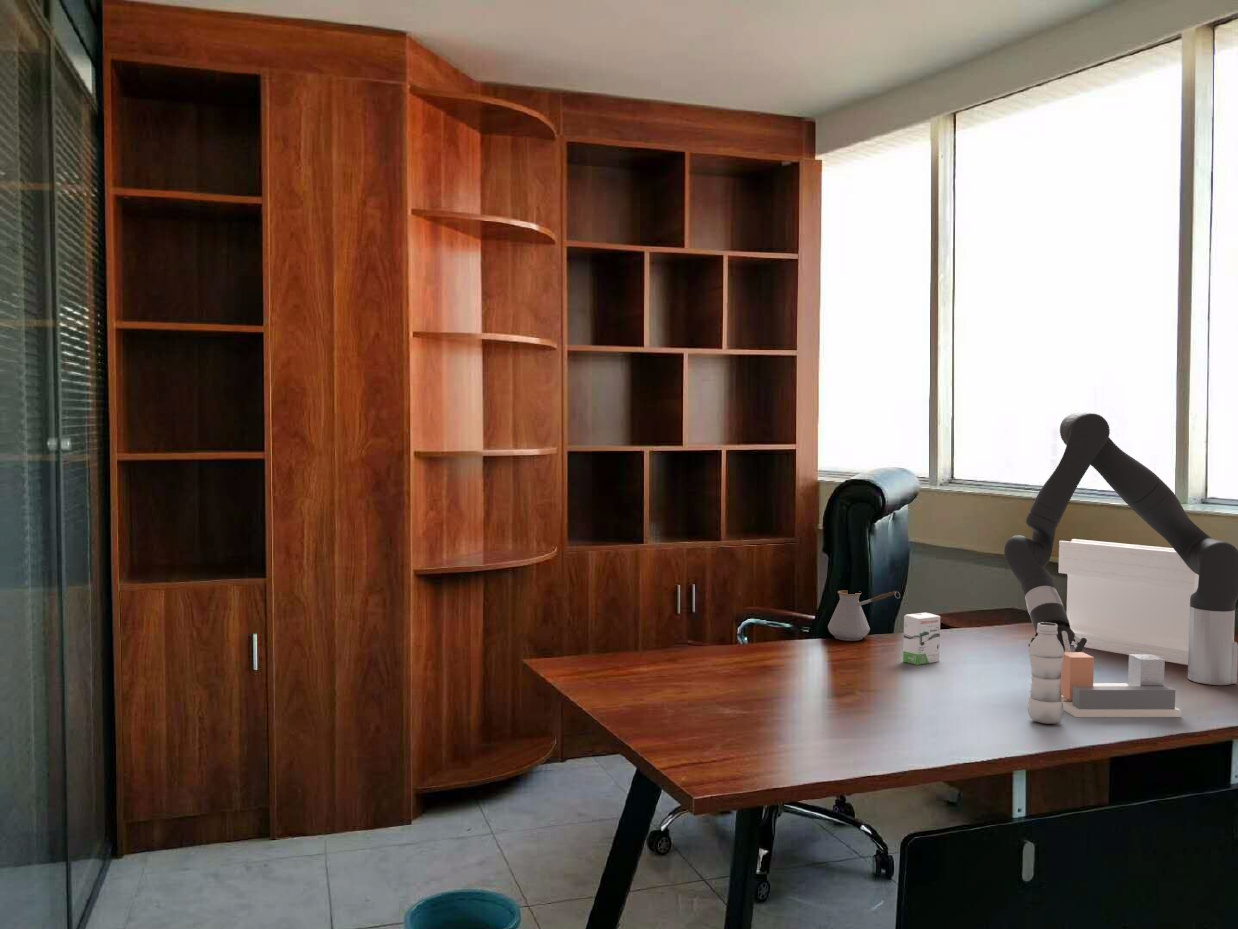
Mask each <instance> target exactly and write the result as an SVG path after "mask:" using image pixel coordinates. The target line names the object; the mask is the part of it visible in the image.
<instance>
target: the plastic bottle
mask: <svg viewBox="0 0 1238 929" xmlns="http://www.w3.org/2000/svg"><path fill="white" fill-rule="evenodd" d="M1037 633H1038V636H1037V637H1036V638H1035V637H1034V638H1035V639H1034V640H1033V642H1032V643H1031V644H1030V647H1029V646H1028V653H1029V661H1030V662H1029V663H1030V669H1031V670H1030V672H1031V683H1032V684H1031V683H1030V689H1031V690H1030V696H1029V699H1028V700H1029V701H1028V704H1027V705H1028V706H1027V712H1028V716H1029V718H1030V719H1031V720H1032V721H1033V722H1036V723H1040V724H1046V725H1052V724H1053V725H1054V724H1059V723H1061V721H1062V720H1063V718H1064V717H1063V716H1064V712H1065V711H1064V710H1063V703H1062V701H1061V700H1062V698H1061V679H1060V678H1061V670H1062V664H1063V658H1064V649H1063V646H1062V645H1061V643H1060V641H1059V640H1058V639H1057V637H1056V634H1058V631H1057V624H1054V623H1047V622H1040V623H1038V625H1037Z"/></svg>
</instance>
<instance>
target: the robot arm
mask: <svg viewBox="0 0 1238 929" xmlns="http://www.w3.org/2000/svg"><path fill="white" fill-rule="evenodd" d="M1110 430H1111V429H1110V424H1109V423H1108V421H1107V420H1106V419H1105V418H1104V417H1103V416H1102V415H1100V414H1098V413H1095V412H1094V413H1093V412H1085V411H1081V412H1080V411H1079V412H1078V411H1077V412H1073V413H1070V414H1069V415H1066V416H1065V417H1064V418H1063V420H1062V421H1061V423H1060V425H1059V434H1060V435H1059V436H1060V438H1061V440H1062V442H1063V443H1064V444H1065V449H1064V452H1063V455H1062V456H1061V458H1060V460H1059V463H1058V464H1057V466H1056V467H1055V469H1054V471H1053V472H1052V474H1051V475H1050V476H1049V478H1048V479H1047V480H1046V481H1045V483H1044V484H1043V485H1042V487H1041V489H1040V490H1039V492H1038V493H1037V495H1036V497H1035V498H1034V501H1033V503H1032V506H1031V507H1030V510H1029V512H1028V514H1027V516H1026V518H1025V523H1026V525H1027V526H1028V527H1029V528H1031V529H1032V537H1031V538H1029V537H1027V536H1024V535H1021V534H1018V535H1013V536H1011V537H1010V538H1008V539H1007V541H1006V543H1005V545H1004V550H1003V552H1004V558H1005V561H1006V563H1007V565H1008V566H1009V569H1010V571H1011V572H1012V574H1014V576H1015V578H1016V580H1017V581H1018V582H1019V584H1020V586H1021V590H1022V593H1023V596H1024V599H1025V604H1026V609H1027V613H1028V614H1029V617H1030V620H1031V624H1032V627H1033V630H1034V632H1035V635H1034V637H1032V638H1031V639H1030V641H1029V643H1028V648H1029V647H1030V644H1031V643H1032V642H1033V640H1034V639H1035V638H1036V637H1037V636H1038V633H1037V625H1038V623H1040V622H1047V623H1054V624H1057V631H1058V634H1056V637H1057V639H1058V640H1059V641H1060V643H1061V645H1062V646H1063V649H1064V652H1071V646H1072V645H1071V643H1072V641H1073V642H1074V645H1073V647H1074V648H1075V649H1074V651H1073V652H1082V651H1083V650H1084V648H1085V647H1084V646H1085V644H1086V642H1087V640H1086V639H1085V638H1082V639H1080V638H1078V637H1076V636H1075V633H1074V632H1073V631H1072V630H1071V628H1070V624H1069V620H1068V618H1067V611H1066V609H1065V606H1064V604H1063V602H1062V601H1063V600H1062V598H1061V597H1060V595H1059V593H1058V591H1057V587H1056V586H1055V583H1054V579H1053V578H1052V575H1051V574H1050V572H1049V571H1048V570H1047V569H1046V568H1045V567H1046V566H1047V565H1048V563H1049V562H1050V559H1051V557H1052V553H1053V548H1054V542H1055V536H1056V531H1057V528H1058V526H1059V524H1060V522H1061V520H1062V518H1063V516H1064V514H1065V511H1066V509H1067V507H1068V505H1069V503H1070V501H1071V499H1072V497H1073V494H1074V493H1075V491H1076V489H1077V488H1078V486H1079V484H1080V482H1081V481H1082V479H1083V477H1084V476H1085V474H1086V472H1088V469H1089V468H1090V466H1091V467H1092V468H1094V469H1095V470H1096V472H1098V474H1099V475H1100V476H1101V477H1102V478H1103V479H1104V480H1105V482H1106V483H1107V484H1108V486H1110V487H1111V489H1112V490H1114V492H1115V494H1117V495H1118V497H1120V498H1121V499H1122V501H1123V502H1125V504H1126V505H1127V506H1129V508H1130V509H1132V511H1134V513H1135V514H1136V515H1137V516H1139V517H1140V518H1141V519H1142V520H1143V521H1144V522H1145V523H1146V524H1147V525H1149V526H1150V527H1151V528H1152V530H1154V531H1155V532H1156V533H1157V534H1159V535H1160V536H1161V537H1162V538H1163V539H1164V540H1166V541H1167V542H1168V544H1169V545H1170V546H1171V548H1174V550H1175V551H1176V552H1177V553H1178V555H1179V556H1180V557H1181V558H1182V560H1183V561H1184V562H1185V563H1186V565H1187V566H1188V567H1189V568H1190V569H1191V570H1192V571H1193V572H1194V573H1196V574H1198V575H1199V581H1198V588H1197V591H1196V592H1195V593H1193V594H1192V595H1191V597H1190V619H1189V651H1188V665H1187V679H1188V680H1190V681H1193V682H1195V683H1199V684H1202V685H1203V684H1205V685H1213V686H1228V685H1233V684H1237V682H1238V680H1237V679H1238V642H1237V641H1235V620H1236V619H1235V618H1236V617H1235V616H1236V613H1235V612H1236V603H1237V601H1238V549H1237V547H1235V546H1234V545H1233V544H1232V543H1229V542H1227V541H1222V540H1219V539H1215V538H1213V537H1211V536H1210V535H1208V534H1207V533H1206V532H1205V531H1204V530H1202V529H1201V528H1200V527H1199V526H1198V525H1196V524H1195V523H1194V522H1193V520H1191V518H1190V517H1189V516H1188V515H1187V512H1185V510H1184V507H1183V505H1182V504H1181V502H1180V500H1179V499H1178V497H1177V496H1176V494H1175V493H1174V492H1173V490H1172V489H1171V488H1170V487H1169V486H1168V485H1167V483H1165V482H1164V481H1163V480H1162V479H1161V478H1160V477H1159V476H1158V475H1157V474H1156V473H1155V472H1153V471H1152V470H1151V469H1149V467H1147V466H1145V465H1143V463H1141V462H1140V461H1138V459H1135V458H1134V457H1132V456H1130V455H1129V454H1128V453H1126V452H1125V451H1123V450H1122V449H1121V448H1120V447H1119V446H1118V445H1117V444H1116V443H1115V442H1114V441H1113V440H1112V439H1111V438H1110V433H1111V432H1110Z"/></svg>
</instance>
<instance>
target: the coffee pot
mask: <svg viewBox="0 0 1238 929" xmlns="http://www.w3.org/2000/svg"><path fill="white" fill-rule="evenodd" d="M837 594H838V596H839V600H838V603H837V604H836V607H835V609H834V612H833V613H832V615H831V619H829V620H830V621H829V623H828V625H827V629H828V632H829V633H830V634H831V635H832V636H834V638H835V639H837V640H840V641H841V640H842V641H852V642H853V641H860V640H861V641H862V640H863V638H865V637H866V636H867V635H868V634H869V632H870V630H871V628H870V626H869V623H868V620H867V617H866V615H865V613H864V609H863V607H862V606H863V605H866V604H870V603H871V602H877V601H880V600H885V599H887V598H888V597H892V596H894V597H895V598H896V599H900V598H901V594H900V592H899V591H897V590H893V591H892V592H891V591H888V592H887V593H882V594H879V595H876V596H875V597H871V598H869V599H867V600H863V601H860V600H859V599H860V595H862V592H861V593H855V594H848V589H847V590H838V591H837ZM896 594H898V596H899V597H897V596H896Z"/></svg>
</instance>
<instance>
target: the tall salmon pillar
mask: <svg viewBox="0 0 1238 929" xmlns="http://www.w3.org/2000/svg"><path fill="white" fill-rule="evenodd" d="M1094 664H1095V657H1094V656H1091V655H1090V654H1087V653H1085V652H1084V651H1083V652H1082V651H1081V652H1074V651H1070V652H1064V658H1063V664H1062V670H1061V678H1060V679H1061V695H1062V696H1064V697H1066V698H1067V699H1069V700H1073V686H1093V683H1094V675H1095V674H1094V672H1095V671H1094V669H1095V665H1094Z"/></svg>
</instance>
